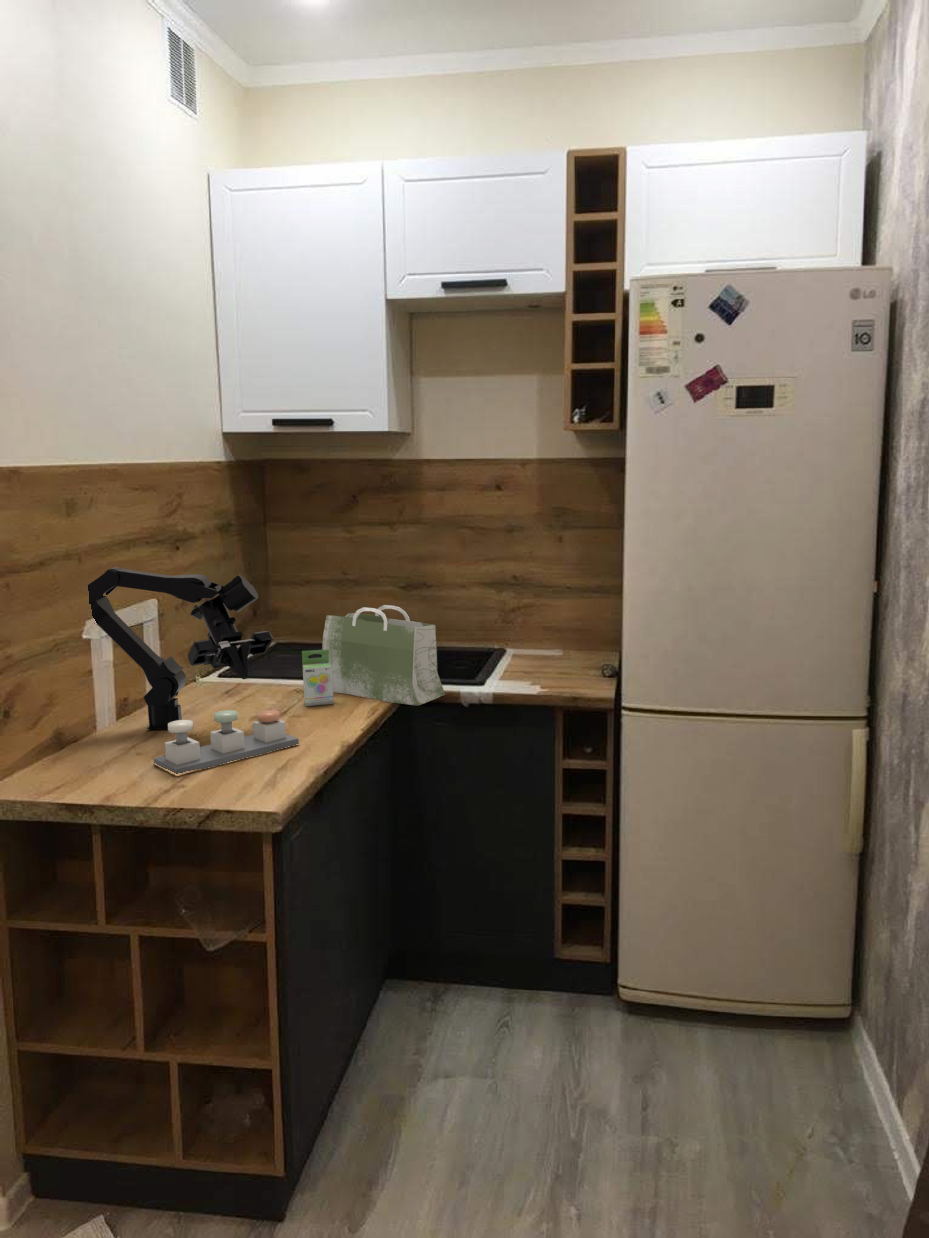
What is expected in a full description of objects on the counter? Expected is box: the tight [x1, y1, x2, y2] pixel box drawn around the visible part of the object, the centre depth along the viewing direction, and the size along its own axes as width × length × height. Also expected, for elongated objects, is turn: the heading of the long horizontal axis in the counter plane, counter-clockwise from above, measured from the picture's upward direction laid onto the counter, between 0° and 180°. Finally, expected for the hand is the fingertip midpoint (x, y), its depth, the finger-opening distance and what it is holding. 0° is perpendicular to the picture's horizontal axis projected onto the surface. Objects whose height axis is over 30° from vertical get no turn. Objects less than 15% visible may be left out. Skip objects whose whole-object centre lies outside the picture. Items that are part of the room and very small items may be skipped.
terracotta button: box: [256, 709, 281, 725], centre depth 202 cm, size 5×5×5 cm
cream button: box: [167, 719, 194, 746], centre depth 189 cm, size 5×5×5 cm
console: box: [153, 719, 300, 774], centre depth 196 cm, size 10×28×5 cm, turn 132°
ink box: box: [301, 649, 335, 707], centre depth 235 cm, size 7×4×13 cm, turn 106°
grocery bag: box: [321, 604, 446, 706], centre depth 244 cm, size 32×14×23 cm, turn 57°
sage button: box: [213, 709, 239, 735], centre depth 195 cm, size 5×5×5 cm
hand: (245, 678), depth 207 cm, fingers closed
